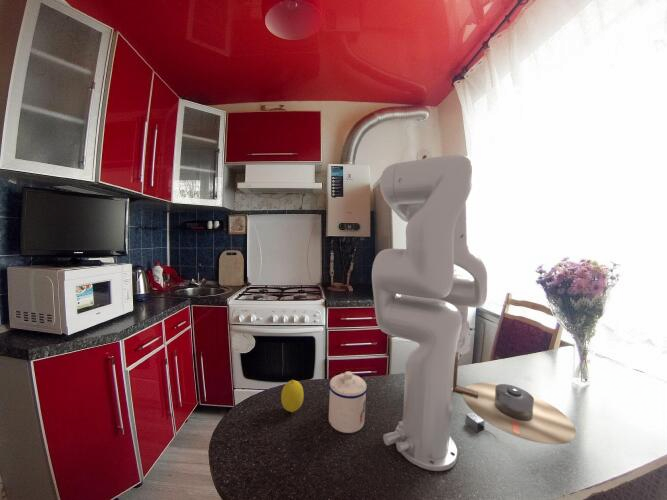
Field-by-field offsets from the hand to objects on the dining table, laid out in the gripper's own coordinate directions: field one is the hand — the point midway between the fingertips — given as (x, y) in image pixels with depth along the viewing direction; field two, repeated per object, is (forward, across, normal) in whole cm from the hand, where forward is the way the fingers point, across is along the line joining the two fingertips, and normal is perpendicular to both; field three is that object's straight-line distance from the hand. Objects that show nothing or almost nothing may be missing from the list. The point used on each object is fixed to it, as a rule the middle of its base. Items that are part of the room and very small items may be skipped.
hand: (450, 374), depth 77 cm
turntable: (+3, +5, -13) cm, 15 cm away
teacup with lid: (+4, -36, -1) cm, 36 cm away
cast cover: (+2, +5, -16) cm, 17 cm away
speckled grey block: (+4, -9, -15) cm, 18 cm away
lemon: (+4, -48, +5) cm, 49 cm away
